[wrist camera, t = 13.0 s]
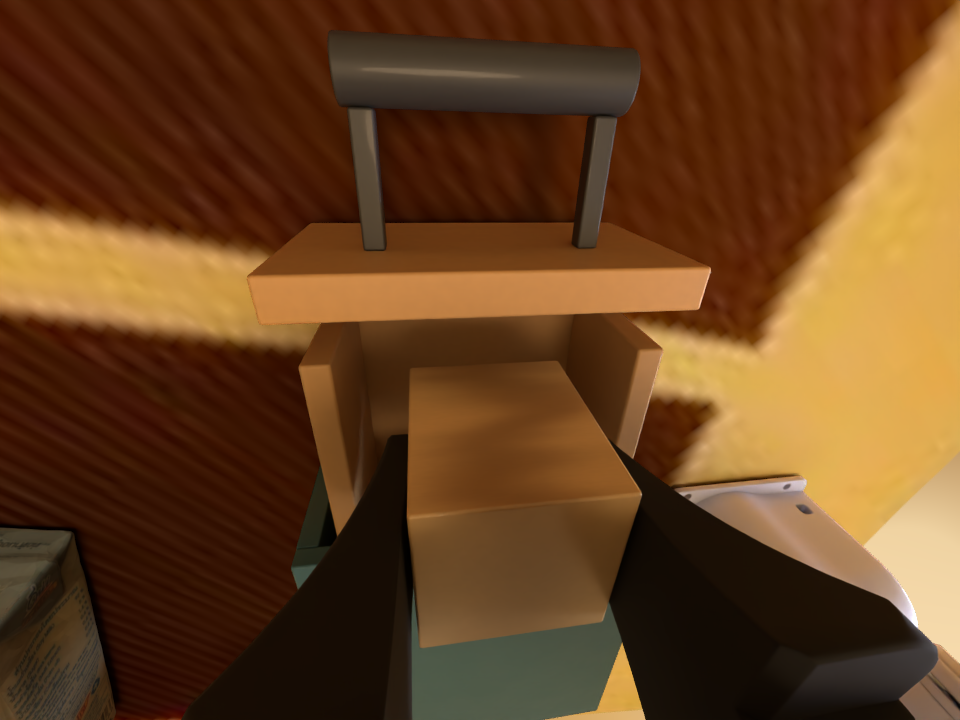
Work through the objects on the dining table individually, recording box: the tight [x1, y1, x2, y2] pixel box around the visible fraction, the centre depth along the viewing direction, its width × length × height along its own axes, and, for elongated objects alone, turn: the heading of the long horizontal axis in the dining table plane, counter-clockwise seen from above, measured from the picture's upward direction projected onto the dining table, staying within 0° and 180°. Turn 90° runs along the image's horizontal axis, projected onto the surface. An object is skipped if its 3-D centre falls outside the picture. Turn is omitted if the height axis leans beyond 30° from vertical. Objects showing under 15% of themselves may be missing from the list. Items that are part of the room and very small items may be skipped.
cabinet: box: [291, 464, 622, 720], centre depth 20 cm, size 14×12×8 cm
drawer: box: [247, 30, 711, 537], centre depth 14 cm, size 18×11×6 cm, turn 179°
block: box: [407, 361, 642, 648], centre depth 10 cm, size 4×4×5 cm
